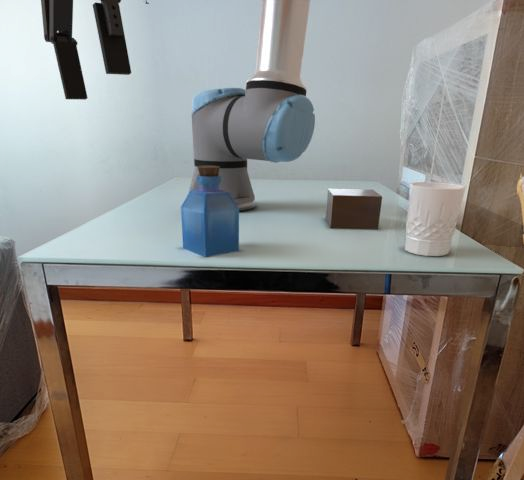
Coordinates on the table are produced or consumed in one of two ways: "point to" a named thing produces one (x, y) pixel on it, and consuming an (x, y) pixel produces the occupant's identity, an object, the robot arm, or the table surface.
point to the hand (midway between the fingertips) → (96, 87)
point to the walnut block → (353, 208)
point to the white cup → (432, 217)
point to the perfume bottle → (210, 216)
